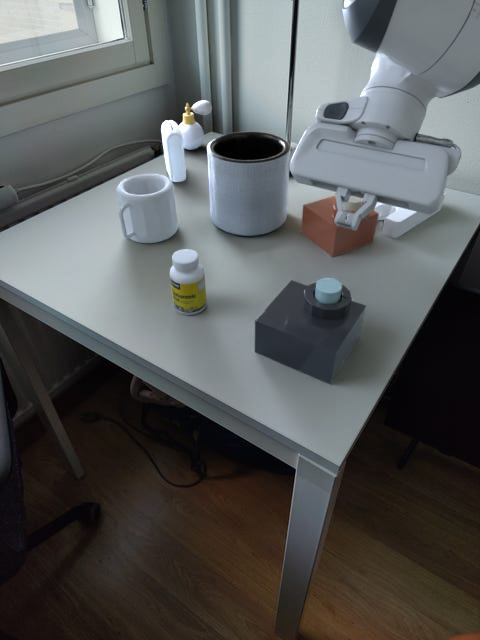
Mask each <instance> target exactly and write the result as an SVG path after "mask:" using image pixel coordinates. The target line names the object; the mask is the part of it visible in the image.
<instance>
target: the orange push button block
mask: <svg viewBox="0 0 480 640" xmlns="http://www.w3.org/2000/svg"><path fill="white" fill-rule="evenodd" d="M363 205H364V203H363V201H362V205H361V207H362V206H363ZM337 212H338V208H337V202H336V196H335V195H332V196H328V197H325V198H322V199H319V200H316V201H313V202H310V203H306V204H303V207H302V217H301V229H300V234H301V235H302V236H304V237H305V238H307V239H308V240H309V241H310V242H312V243H313V244H314V245H316V246H317V247H319V248H320V249H321V250H322V251H324V252H325V253H326V254H328V255H329V257H330V256H331V257H332V258H334V257H337V256H339V255H342V254H344V253H347V252H351V251H353V250H356V249H358V248H361V247H363V246H366V245H368V244H372V243H374V239H375V234H376V229H377V225H378V221H379V220H378V215H379V213H377V212H376V211H374V210H373V211H372V212H370V213H369V214H368V215H367V216H366V217H364V218H363V219H361V221H360V224H359V226H358V229H357V230H356V231H355V230H351V229H348V228H344V227H340V226H337V225H335V223H334V219H335V217H336V214H337ZM347 212H349V211H347ZM351 213H355V212H351ZM377 220H378V221H377Z"/></svg>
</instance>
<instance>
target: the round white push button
mask: <svg viewBox="0 0 480 640" xmlns="http://www.w3.org/2000/svg"><path fill="white" fill-rule="evenodd" d="M362 200H363V198H359V197H355V196H350V198H349V201H348V202H344V208H345V211H349V212H356V211H358V210H359V209H360V208H361V205H362Z"/></svg>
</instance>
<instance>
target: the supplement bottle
mask: <svg viewBox="0 0 480 640" xmlns="http://www.w3.org/2000/svg"><path fill="white" fill-rule="evenodd" d="M199 257H200V256H199V253H198V252H197V251H196V250H194V249H191V248H183V249H179V250H176V251H174V252H173V254H172V256H171V261H172V265H171V267H170V269H169V280H170V288H171V294H172V303H173V307H174V309H175V310H176V311H177V312H178V313H179V314H181V315H185V316H186V315H187V316H191V315H197V314H200V313H201V312H202V311H204V310H205V309H206V307H207V301H208V299H207V288H206V287H207V286H206V277H205V276H206V275H205V268H204V266H203V264H201V263H200V260H199V259H200V258H199Z"/></svg>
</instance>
